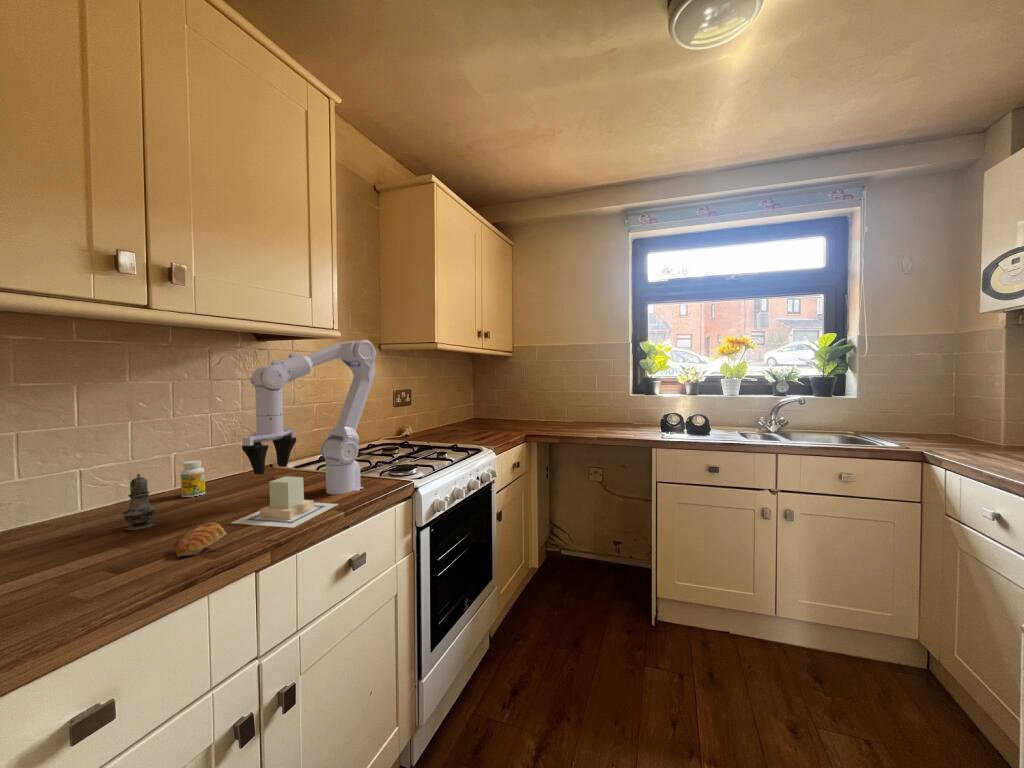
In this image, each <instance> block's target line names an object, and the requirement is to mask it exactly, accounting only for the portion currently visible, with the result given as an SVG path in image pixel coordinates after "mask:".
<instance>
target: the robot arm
mask: <svg viewBox="0 0 1024 768" xmlns="http://www.w3.org/2000/svg"><path fill="white" fill-rule="evenodd" d="M376 356H377V351H376V349H375V346H374V345H373V343H372V341H369V340H368V339H361V340H352V341H349V340H348V341H343V342H338V343H333V344H331V345H329V346H327V347H325V348H322V349H320V350H317V351H315V352H313V353H310V354H308V355H304V354H301V353H293V352H292V353H290V354H288V357H286V358H284V359H281V360H278V361H277V360H273V361H271V362H270V365H264V366H259V367H257V368H256V369H255V370H253V373H252V374H251V377H249V380H250V383H251V385H252V386H253V387H254V389H255V422H256V423H255V424H256V426H255V427H256V432H254V433H253V434H251V435H247V436H244V437H242V444H241V450H242V451H243V452H244V454H245V455H246V456H247V459H248V461H249V462H250V464H251V467H252V471H253V473H254V475H264V473H265V470H266V457H267V452H268V449H269V445H267V444H266V445H264V444H263V443H266V442H270V441H272V443H273V446H274V449H275V453H276V463H277V467H279V468H280V467H281V468H286V467H288V463H289V459H290V455H291V452H292V451H293V450H292V449H293V447H294V446H295V444H296V443H297V437H295V435H296V433H295V430H296V429H295V428H285V429H284V407H283V406H284V405H283V404H284V402H283V399H284V398H283V387H285V386H286V384H289V383H291V382H293V381H295V380H297V379H300V378H302V377H305V376H307V375H310V373H311V372H312V369H313V367H316V366H319V365H322V364H325V363H327V362H331V361H333V360H340V361H342V362H343V363H344V365H346V366H347V367H348V369H349V370H350V371H351V372H352V375H353V378H352V380H351V384H350V387H349V388H348V392H347V395H346V398H345V401H344V403H343V407H342V409H341V412H340V415H339V418H338V421H337V423H336V426H335V427H334V428H333V429H331V430H330V431H329V432H328V435H327V437H326V438H325V440H324V441H323V442H322V443H321V445H320V447H319V448H320V449H319V450H320V454H321V456H322V458H324V462H325V486H326V487H325V489H326V494H329V495H342V494H343V495H344V494H348V493H350V492H354V491H359V490H360V489H362V488H363V489H364V487H363V486H362V485H361V481H362V480H361V466H360V464H359V462H358V461H357V460H355V459H357V457H358V454H359V442H360V436H359V435H358V433H357V429H358V426H359V423H360V421H361V417H362V414H363V411H364V408H365V406H366V402H367V400H368V396H369V393H370V391H371V388H372V385H373V381H374V378H375V375H376V368H375V367H376V366H375V360H376ZM363 489H362V490H363ZM360 491H361V490H360Z"/></svg>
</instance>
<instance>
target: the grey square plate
mask: <svg viewBox="0 0 1024 768" xmlns="http://www.w3.org/2000/svg"><path fill="white" fill-rule="evenodd" d="M338 505H339V503H329V502H328V503H325V502H314V509H312V510H310V511H308V512H306V513H304V514H301V515H299V516H297V517H295V518H293V519H291V520H285V519H271V518H260V510H258V511H256V512H254V513H251V514H249V515H246V516H244V517H241V518H239V519H237V520H234V521H231V522H230V524H237V525H239V524H240V525H250V526H265V527H275V528H276V527H277V528H278V527H279V528H290V529H291V528H293V529H294V528H295V527H298V526H299V525H301V524H303V523H305V522H307V521H309V520H312V519H313V518H316V517H317V516H319V515H321V514H322V513H324V512H326V511H328V510H330V509H332V508H334V507H336V506H338Z"/></svg>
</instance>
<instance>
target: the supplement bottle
mask: <svg viewBox="0 0 1024 768" xmlns="http://www.w3.org/2000/svg"><path fill="white" fill-rule="evenodd" d="M182 463H183V464H182V467H183V468H184V469H183V470H181V471H180V488H181V489H180V490H181V493H180V494H181V497H182V498H183V497H193V498H195V497H194V496H198V497H200V496H199V495H202V496H204V495H205V494H206V478H205V476H206V474H205V469H204V468H203V467H202V460H189V461H185V462H182ZM203 494H204V495H203Z"/></svg>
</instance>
